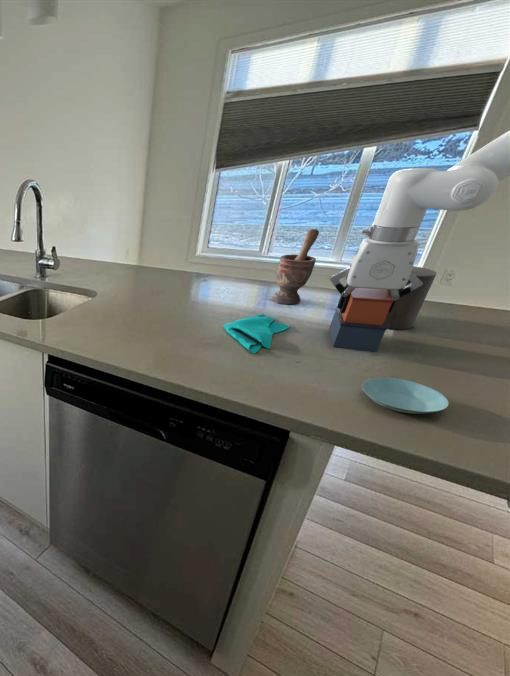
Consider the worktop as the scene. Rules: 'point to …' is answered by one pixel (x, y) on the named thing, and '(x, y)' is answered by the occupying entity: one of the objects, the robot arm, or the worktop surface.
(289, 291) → the mortar and pestle
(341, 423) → the worktop surface
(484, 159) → the robot arm
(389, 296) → the container
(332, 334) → the bottom container
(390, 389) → the saucer
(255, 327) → the cloth
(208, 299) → the worktop surface
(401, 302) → the pillar candle
